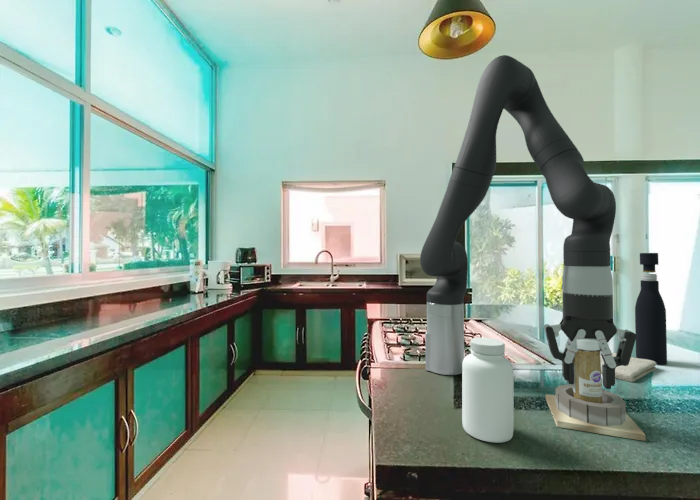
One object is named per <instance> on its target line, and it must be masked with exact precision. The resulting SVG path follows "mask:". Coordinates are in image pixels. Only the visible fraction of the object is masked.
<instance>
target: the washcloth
mask: <svg viewBox="0 0 700 500" xmlns="http://www.w3.org/2000/svg"><path fill="white" fill-rule="evenodd" d="M611 353H612V356H613V357H616V354H617V352H611ZM600 360H601V374H602V364H603V365H604V361H603V359H602V356H601V354H600ZM656 366H658V365H657V363H656V362H655V361H652V360H647V359H639V358H636V357H633V356H631V358H630V362H629V364H628V365H627V366H623V365H622V366H617V367H616V368H615V379H616V378H617V380H620V381H624V382H629V383H634V382H636V381H637V380H639V379H641V378H643V377H645V376H646V375H647V374H648V375H649V373H652V372H654V371H657V367H656Z"/></svg>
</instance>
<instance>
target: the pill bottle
mask: <svg viewBox="0 0 700 500" xmlns="http://www.w3.org/2000/svg"><path fill="white" fill-rule="evenodd" d="M469 342H470V353H469V354H466V355H465V356H464V360H463V363H462V373H461V374H462V375H461V377H462V378H461V379H462V382H461V388H462V389H461V391H462V392H461V397H462V399H461V401H462V402H461V403H462V404H461V423H462V424H461V425H462V428H463V430H464V431H465V432H466V434H468V435H469V436H471V437H473V438H475V439H477V440H480V441H484V442H488V443H496V444H497V443H499V444H501V443H506V442H509V441H510V440H511V439H512V438H513V436H514V430H515V429H514V418H515V417H514V415H515V414H514V411H515V410H514V409H515V408H514V405H515V404H514V399H515V398H514V397H515V396H514V391H515V390H514V388H515V387H514V386H515V384H514V381H515V378H514V375H515V373H514V371H515V370H514V367H513V366H514V365H513V364H512V362H511V361H510V360H509V359H507V358H506V357H505V355H506V353H505V352H506V351H505V350H506V349H505V348H506V346H505V345H506V344H505V342H504V341H503V340H500V339H496V338H491V337H474V338H471V339H470V341H469Z"/></svg>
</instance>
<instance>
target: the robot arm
mask: <svg viewBox="0 0 700 500" xmlns="http://www.w3.org/2000/svg"><path fill="white" fill-rule="evenodd" d="M475 92H476V93H475V96H474V100H473V104H472V108H471V112H470V117H469V121H468V124H467V128H466V130H465V134H464V137H463V140H462V143H461V146H460V150H459V153H458V156H457V158H456V161H455V163H454V167H453V168H452V171H451V174H450V177H449V180H448V183H447V187H446V190H445V192H444V196H443V199H442V201H441V204H440V206H439V209H438V212H437V215H436V218H435V219H434V222H433V224H432V227H431V229H430V231H429V233H428V235H427V238H426V239H425V241H424V243H423V246H422V249H421V251H420V258H419V259H420V261H419V263H420V267H421V270H422V271H423V272H424V273H425V274H426V275H427V276H429V277H436V281H435V284H434V285H433V286H432V287H431V288H430V289H429V290H428V291H427V292H426V332H425V334H424V335H425V337H424V338H425V339H424V341H425V349H424V350H425V352H424V353H425V371H429V372H431V373H436V374H438V375H439V374H440V375H444V376H457V375H461V374H462V363H463V360H464V358H465V316H464V315H465V312H464V311H465V309H464V307H465V305H464V297H465V296H466V295H465V294H466V293H467V290H468V289H467V287H468V268H469V267H468V266H469V261H468V254H467V251H466V249H465V247H464V246H463V245H462V243H460V242H458V241H457V237H458V235H459V233H460V230H461V229H462V227H463V226H464V224H465V223H466V221H467V220H468V219H469V217H471V215H472V214H473V213H474V212H475V211H476V210H477V209H478V207H479V206H480V205H481V203H482V202H483V200H484V199H485V197H486V196H487V193H488V191H489V188H490V186H491V184H492V180H493V177H494V175H495V172H496V167H497V133H498V132H497V130H498V125H499V123H500V118H501V116H502V114H503V111H504V110H505V111H506V112H507V113H508V114H510V115H511V117H512V118H513V119H514V120H515V121H516V122H517V123H518V125H519V126H520V128H521V131H522V132H523V135H524V136H523V137H524V140H525V145H526V147H527V151H528V153H529V155H530V157H531V158H532V160H533V162H534V163H535V165H536V167H537V168H538V170H539V172H540V173H541V175H542V177H543V178H544V179H545V182H546V186H547V189H548V192H549V195H550V198H551V200H552V202H553V204H554V207H556V209H557V210H558V211H559V212H560V213H561V215H563V216H564V217H565V218H567V219H571V220H572V227H571V228H572V229H571V234H570V235H568V236H566V237H565V239H564V242H563V246H562V248H563V249H562V250H563V270H562V276H561V281H562V282H561V283H562V284H561V290H562V291H561V292H562V294H561V295H562V319H561V321H560V322H559V324H553V325H552V324H551V325H550V324H548V323H547V324H544V325H543V330H544V333H545V337H546V341H547V344H548V347H549V351H550V354H551V356H552V358H554V359H556V360H559V361H561V363H562V364H561V369H562V371H561V374H562V377H563V379H564V381H566V382H567V385H570V384H573V364H572V360H573V358H574V356H575V354H576V353H577V350H578V349H577V339H584V338H591V339H594V338H595V339H597V340H598V341H599V345H600V348H601V349H600V354H601V356H602V359H603V361H604V365H603V364H602V375H601V378H602V387H604V389H605V390H612V387H615V385H616V378H615V368H616V367H617V366H622V365H623V366H627V365H628V364H629V362H630V358H631V357H632V354H633V350H634V347H635V345H636V332H635V333H634V332H633V331H631V330H628V329H621V328H618V327H617V326H616V325H615V323H614V285H613V284H614V280H613V275H612V274H613V273H612V270H611V269H612V267H611V244H610V243H611V242H610V241H611V238H612V233H613V230H614V226H615V225H614V224H615V219H616V213H617V204H616V202H617V201H616V197H615V195H614V192H613V191H612V189H611V188H609V187H608V186H607V185H605V184H602V183H598V182H594V181H593V180H592V178H590V177H589V175H588V173H587V171H586V170H585V168H584V166H585V161H584V158H583V155H582V154H581V152H580V151H579V150H578V148H577V146H576V145H575V143H574V142H573V141H572V140H571V138H570V137H569V135H568V134H567V132H565V130H564V128H563V127H562V126H561V124H560V123H559V121H558V120H557V119H556V118H555V116H554V114H553V113H552V111H551V109H550V108H549V106H548V103H547V102H546V100H545V98H544V95H543V93H542V91H541V87H540V85H539V83H538V81H537V78H536V76H535V74H534V72H533V70H532V69H530V68H529V66H527V65H525V64H524V63H522V62H521V61H519V60H518V59H516V58H515V57H512V56H511V55H506V54H504V55H499V56H497V57H495V58H493V59H492V60H491V61H490V62H488V64H487V65H486V67H485V68H484V70H483V71H482V74H481V75H480V78H479V82H478V84H477V88H476V91H475ZM560 331H562V332H563V333H564V335H565V336H566V337H567V340H566V343H565V346H564V347H565V348H564V349H563V352H561V351H560V350H559V346H558V343H557V339H556V338H557V337H559V335H560V334H559V332H560ZM615 335H616V338H617V340H618V341H619V344H618V348H617V351H616V353H617V354H616V357H613V356H612V353H613V352H612V350H611V349H610V346H609V344H608V343H609V342H610V341H611V340H612V338H613V337H614V336H615ZM570 341H572V343H571V345H570ZM575 345H576V347H575Z"/></svg>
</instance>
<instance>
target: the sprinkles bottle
mask: <svg viewBox="0 0 700 500" xmlns="http://www.w3.org/2000/svg"><path fill="white" fill-rule="evenodd" d="M571 343H572V341H570V345H571ZM575 347H576V345H575ZM577 349H578V350H577V353H576V354H575V356H574V358H573V360H572V362H571V363H572V364H573V393H574V398H576V399H579V400H583V401H586V402H592V403H599V404H602V390H603V383H602V375H601V360H600V349H601V348H600V345H599V341H598V340H597V339H595V338H594V339H591V338H584V339H577Z"/></svg>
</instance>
